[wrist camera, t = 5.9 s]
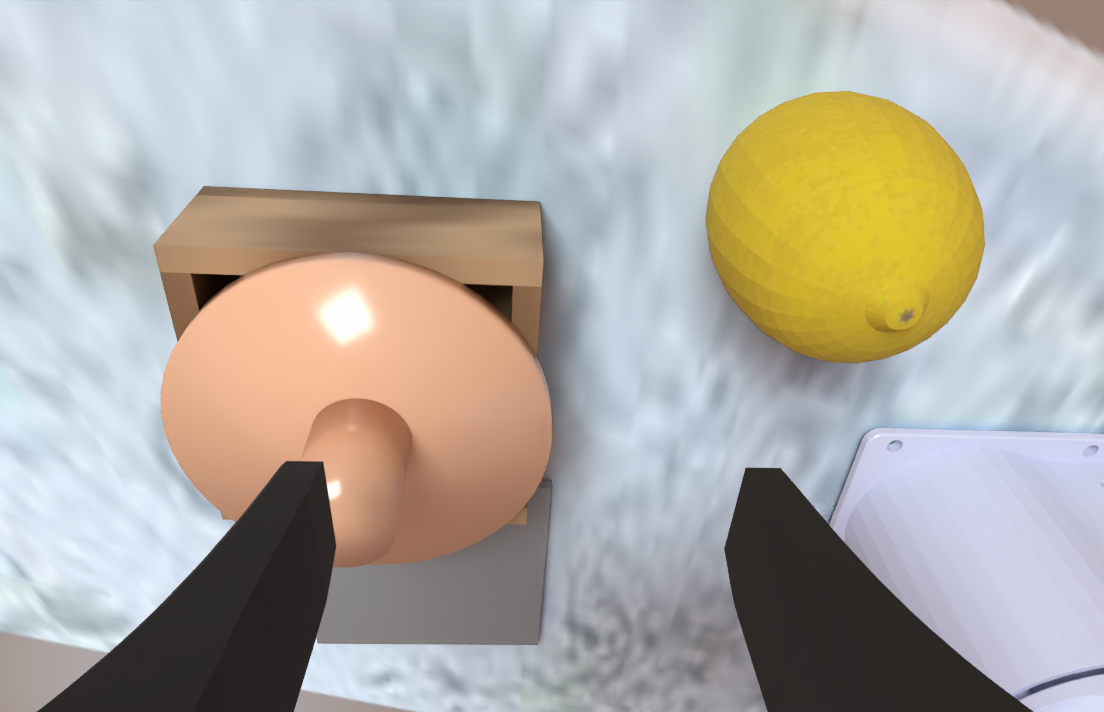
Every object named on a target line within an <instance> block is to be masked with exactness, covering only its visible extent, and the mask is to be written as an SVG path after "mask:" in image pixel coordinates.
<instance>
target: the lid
mask: <svg viewBox="0 0 1104 712" xmlns="http://www.w3.org/2000/svg"><path fill="white" fill-rule="evenodd" d="M161 414H162V419H163V424H164V430H165V433H166V436H167V439H168V442H169V444H170V447H171V450H172V452H173V454H174V456H175V457H176V459H177V461H178V463H179V465H180V466H181V468H182V470H183V471H184V473H185V474H186V475H187V477H188V478H189V479H190V481H191V482H192V483H193V485H194V486H195V487H196V488H197V489H198V490H199V491H200V492H201V493H202V494H203V496H204V497H205V498H206V499H207V500H208V501H209V502H210V503H212V504H213V505H214V506H215V507H216V508H217V509H219V510H220V511H221V512H222V513H223V514H225V515H226V516H227V517H229V518H230V519H232V520H233V521H235V522H237V520H238V519H239V518H240V517H241V515H242V514H243V513H244V512H245V511H246V509H247V508H248V507H249V506H250V504H251V503H252V502H253V501H254V499H255V498H256V497H257V496H258V494H259V493H260V492H261V491H262V489H263V488H264V487H265V485H266V484H267V483H268V482H269V480H270V479H271V478H272V476H273V475H274V474H275V473H276V471H277V470H278V469H279V467H280V466H281V465H282V464H283V463H285V462H286V461H323V463H324V469H325V476H326V482H327V488H328V495H329V501H330V508H331V514H332V520H333V527H334V533H335V540H336V551H335V557H334V563H333V567H341V568H348V567H358V566H363V565H366V564H370V565H381V564H401V563H410V562H418V561H422V560H427V559H432V558H437V557H440V556H443V555H447V554H450V553H453V552H456V551H459V550H461V549H464V548H466V547H468V546H471V545H473V544H475V543H477V542H479V541H481V540H482V539H484V538H486V537H488V536H489V535H491V534H493V533H494V532H496V531H497V530H498V529H500V528H501V527H502V526H504V525H505V524H506V523H508V522H509V521H510V520H511V519H512V518H513V517H514V516H515V515H516V514H517V513H518V512H519V511H520V510H521V509H522V508H523V507H524V506H525V505H526V503H527V502H528V501H529V499H530V498H531V497H532V496H533V494H534V493H535V491H536V489H537V487H538V485H539V484H540V482H541V480H542V478H543V475H544V473H545V470H546V467H547V464H548V461H549V456H550V451H551V445H552V415H551V402H550V396H549V390H548V385H547V382H546V379H545V376H544V373H543V370H542V367H541V365H540V363H539V361H538V359H537V357H536V355H535V353H534V351H533V350H532V348H531V346H530V345H529V343H528V342H527V341H526V339H525V338H524V336H523V335H522V334H521V332H520V331H519V330H518V328H517V327H516V326H515V325H514V324H513V323H512V322H511V321H510V320H509V319H508V318H507V317H506V316H505V315H504V314H503V313H502V312H501V311H500V310H499V309H498V308H496V307H495V306H494V305H493V304H491V303H490V302H489V301H488V300H487V299H485V298H484V297H483V296H481V295H480V294H478V293H477V292H475V291H473V290H472V289H470V288H469V287H467V286H465V285H464V284H462V283H461V282H459V281H457V280H455V279H452V278H450V277H448V276H446V275H444V274H442V273H440V272H438V271H436V270H433V269H430V268H427V267H424V266H421V265H418V264H415V263H412V262H409V261H405V260H400V259H396V258H391V257H387V256H382V255H374V254H364V253H354V252H339V253H318V254H311V255H303V256H296V257H292V258H289V259H285V260H281V261H277V262H273V263H270V264H268V265H265V266H263V267H260V268H258V269H256V270H253V271H251V272H248V273H246V274H245V275H243V276H241V277H240V278H238V279H236V280H235V281H233V282H231V283H229V284H228V285H226V286H225V287H224V288H223V289H221V290H220V291H219V292H218V293H216V294H215V295H214V296H213V297H212V298H210V299H209V300H208V301H207V302H206V303H205V305H204V306H203V307H202V308H201V309H200V310H199V312H198V313H197V314H196V315H195V316H194V317H193V319H192V321H191V322H190V324H189V325H188V327H187V328H186V330H185V331H184V333H183V334H182V336H181V338H180V339H179V341H178V343H177V344H176V346H175V348H174V349H173V351H172V353H171V355H170V358H169V361H168V363H167V366H166V369H165V371H164V376H163V382H162V388H161Z"/></svg>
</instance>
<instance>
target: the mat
mask: <svg viewBox="0 0 1104 712" xmlns="http://www.w3.org/2000/svg"><path fill="white" fill-rule="evenodd" d="M551 492H552V482H551V480H541V482H540V484H539V485H538V487H537V489H536V491H535V493H534V494H533V496H532V497H531V498H530V499H529V501H528V504H527V519H526V525H523V524H505V525H504V526H502V527H501V528H500V529H498V530H497V531H496V532H494V533H493V534H491V535H489V536H488V537H486V538H484V539H482V540H481V541H479V542H477V543H475V544H473V545H471V546H468V547H466V548H464V549H461V550H459V551H456V552H453V553H450V554H447V555H443V556H440V557H437V558H432V559H427V560H422V561H418V562H410V563H401V564H381V565H370V564H366V565H363V566H358V567H348V568H341V567H333V569H332V575H331V580H330V586H329V591H328V597H327V602H326V606H325V609H324V612H323V616H322V619H321V623H320V626H319V629H318V633H317V636H316V637H317V642H318V643H325V644H479V645H538V637H539V626H540V615H541V604H542V593H543V582H544V570H545V559H546V548H547V537H548V526H549V515H550V504H551Z"/></svg>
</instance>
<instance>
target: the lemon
mask: <svg viewBox="0 0 1104 712" xmlns="http://www.w3.org/2000/svg"><path fill="white" fill-rule="evenodd" d="M706 226H707V233H708V241H709V248H710V253H711V257H712V260H713V263H714V265H715V267H716V269H717V271H718V274H719V276H720V278H721V280H722V282H723V285H724V287H725V289H726V290H727V292H728V294H729V295H730V297H731V298H732V299H733V301H734V302H735V303H736V304H737V305H738V306H739V307H740V309H741V310H742V311H743V312H744V313H745V314H746V315H747V316H748V318H749V319H750V320H751V321H752V322H753V323H754V324H755V325H756V326H757V327H758V328H759V329H760V330H762V331H763V332H764V333H765V334H767V335H768V336H770V337H771V338H773V339H774V340H776V341H778V342H779V343H781V344H783V345H784V346H786V347H788V348H789V349H791V350H793V351H795V352H797V353H799V354H802V355H805V356H809V357H813V358H816V359H820V360H823V361H829V362H842V363H860V362H867V361H873V360H879V359H884V358H887V357H890V356H893V355H896V354H899V353H901V352H904V351H907V350H909V349H911V348H913V347H914V346H916V345H918V344H920V343H921V342H923V341H925V340H927V339H928V338H930V337H931V336H932V335H933V334H935V333H936V332H937V331H938V330H939V329H941V328H942V327H943V326H944V325H945V324H947V323H948V321H949V320H950V319H951V318H952V316H953V315H954V314H955V313H956V312H957V310H958V309H959V308H960V307H961V305H962V304H963V303H964V301H965V300H966V298H967V296H968V294H969V292H970V291H971V289H972V287H973V285H974V283H975V281H976V279H977V276H978V272H979V268H980V264H981V260H982V256H983V251H984V246H985V240H984V222H983V213H982V208H981V205H980V202H979V199H978V196H977V194H976V191H975V189H974V186H973V184H972V181H971V179H970V176H969V174H968V172H967V170H966V168H965V166H964V164H963V163H962V161H961V159H960V158H959V157H958V155H957V154H956V153H955V152H954V151H953V149H952V148H951V147H950V146H949V145H948V144H947V142H946V141H945V140H944V139H943V138H942V137H941V136H940V134H939V133H938V132H937V131H936V130H935V129H934V128H933V127H932V126H931V125H930V124H929V123H928V122H926V121H925V120H923V119H922V118H920V117H918V116H917V115H915V114H913V113H911V112H909V111H908V110H906V109H904V108H902V107H901V106H899V105H897V104H895V103H893V102H891V101H889V100H886V99H882V98H878V97H873V96H869V95H864V94H860V93H855V92H850V91H840V92H821V93H813V94H809V95H806V96H803V97H800V98H796V99H793V100H790V101H787V102H784V103H782V104H780V105H778V106H777V107H775V108H773V109H771V110H770V111H768V112H766V113H764V114H763V115H761V116H759V117H758V118H757V119H756V120H755V121H753V122H752V123H751V124H750V125H749V126H748V127H747V128H746V129H745V130H743V131H742V132H741V133H740V134H739V135H738V136H737V138H736V139H735V140H734V142H733V143H732V145H731V146H730V147H729V149H728V150H727V152H726V153H725V154H724V156H723V157H722V159H721V161H720V164H719V166H718V168H717V171H716V173H715V176H714V178H713V181H712V183H711V186H710V192H709V199H708V206H707V213H706Z"/></svg>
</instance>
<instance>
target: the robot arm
mask: <svg viewBox="0 0 1104 712" xmlns="http://www.w3.org/2000/svg"><path fill="white" fill-rule="evenodd" d="M895 440H896V442H894V443H892V444H889V443H890V442H892V441H895ZM724 549H725V555H726V561H727V567H728V573H729V579H730V584H731V589H732V594H733V600H734V604H735V608H736V611H737V615H738V618H739V621H740V624H741V628H742V631H743V634H744V637H745V641H746V644H747V647H748V650H749V654H750V657H751V660H752V663H753V666H754V669H755V673H756V676H757V679H758V682H759V685H760V688H761V692H762V695H763V698H764V701H765V704H766V708H767V711H768V712H1104V434H1094V433H1056V432H1019V431H981V430H943V429H906V428H876V429H873V430H870V431H869V432H868V433H866V434H865V436H864V437H863V439H862V441H861V444H860V446H859V449H858V452H857V454H856V457H855V459H854V462H853V464H852V467H851V470H850V472H849V475H848V477H847V480H846V482H845V485H844V488H843V490H842V493H841V495H840V498H839V501H838V503H837V506H836V508H835V511H834V513H833V516H832V519H831V521H830V524H828V523H827V522H826V521H825V520H824V518H823V517H822V516H821V515H820V514H819V513H818V511H817V510H816V509H815V508H814V507H813V506H812V504H811V503H810V502H809V501H808V500H807V499H806V497H805V496H804V495H803V494H802V493H801V491H800V490H799V489H798V488H797V487H796V486H795V484H794V483H793V482H792V481H791V480H790V479H789V477H788V476H787V475H786V474H785V473H784V472H783V471H782V469H781V468H746V469H745V473H744V477H743V480H742V484H741V488H740V492H739V495H738V499H737V503H736V507H735V511H734V514H733V518H732V522H731V526H730V529H729V533H728V537H727V541H726V545H725V548H724ZM335 551H336V540H335V533H334V527H333V520H332V514H331V508H330V501H329V495H328V488H327V482H326V476H325V469H324V463H323V461H286V462H285V463H283V464H282V465H281V466H280V467H279V469H278V470H277V471H276V473H275V474H274V475H273V476H272V478H271V479H270V480H269V482H268V483H267V484H266V485H265V487H264V488H263V489H262V491H261V492H260V493H259V494H258V496H257V497H256V498H255V499H254V501H253V502H252V503H251V504H250V506H249V507H248V508H247V509H246V511H245V512H244V513H243V514H242V515H241V517H240V518H239V519H238V520H237V522H236V523H235V524H234V525H233V526H232V527H231V529H230V530H229V531H228V532H227V533H226V534H225V536H224V537H223V538H222V539H221V540H220V541H219V542H218V544H217V545H216V546H215V547H214V548H213V549H212V551H211V552H210V553H209V554H208V555H207V556H206V557H205V559H204V560H203V561H202V562H201V563H200V564H199V565H198V566H197V567H196V568H195V569H194V570H193V571H192V573H191V574H190V575H189V576H188V577H187V578H186V579H185V580H184V581H183V582H182V583H181V584H180V585H179V586H178V587H177V588H176V589H175V590H174V591H173V592H172V593H171V595H170V596H169V597H168V598H167V599H166V600H165V601H164V602H163V603H162V604H161V605H160V606H159V607H158V608H157V609H156V610H155V611H154V612H153V613H152V614H151V615H150V616H149V617H147V618H146V619H145V620H144V621H143V622H142V623H141V624H140V625H139V626H138V627H137V628H136V629H135V630H134V631H133V632H132V633H130V634H129V635H128V636H127V637H126V638H125V639H124V640H123V641H122V642H121V643H119V644H118V645H117V646H116V647H115V648H114V649H113V650H112V651H111V652H109V653H108V654H107V655H106V656H105V657H104V658H102V659H101V660H100V661H99V662H98V663H96V664H95V665H94V666H93V667H92V668H91V669H89V670H88V671H87V672H86V673H84V674H83V675H82V676H81V677H80V678H79V679H77V680H76V681H75V682H74V683H73V684H71V685H70V686H69V687H68V688H66V689H65V690H64V691H63V692H61V693H60V694H59V695H58V696H56V697H55V698H54V699H53V700H51V701H50V702H49V703H48V704H46V705H45V706H44V707H43V708H41V709H40V710H38V711H37V712H294V709H295V705H296V702H297V699H298V696H299V692H300V689H301V686H302V683H303V679H304V676H305V673H306V669H307V666H308V663H309V659H310V656H311V653H312V650H313V646H314V643H315V640H316V636H317V633H318V629H319V626H320V623H321V619H322V616H323V612H324V609H325V606H326V602H327V597H328V591H329V586H330V580H331V575H332V569H333V563H334V557H335Z"/></svg>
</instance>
